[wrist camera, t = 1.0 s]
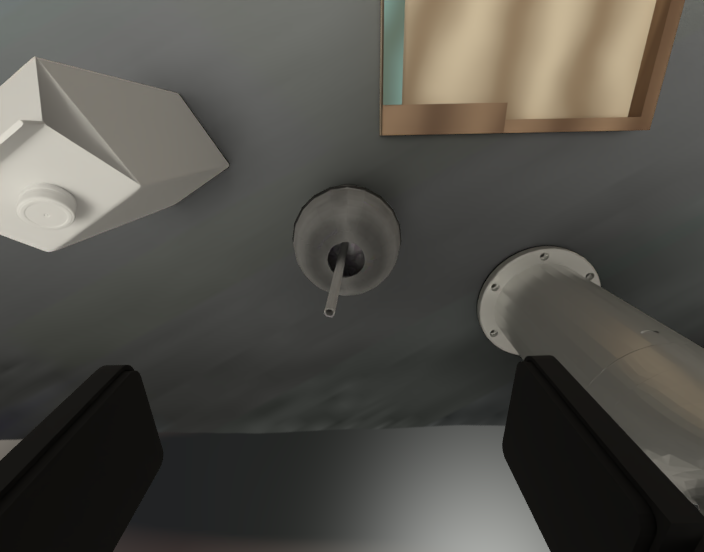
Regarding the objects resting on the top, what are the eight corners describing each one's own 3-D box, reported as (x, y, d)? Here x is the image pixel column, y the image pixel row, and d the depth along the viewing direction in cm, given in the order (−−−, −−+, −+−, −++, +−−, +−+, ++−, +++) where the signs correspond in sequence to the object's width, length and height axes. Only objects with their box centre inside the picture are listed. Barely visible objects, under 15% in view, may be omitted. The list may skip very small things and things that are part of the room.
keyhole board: (668, -54, 27) (708, -77, 24) (623, 130, 32) (651, 129, 29) (381, -48, 27) (385, -71, 24) (379, 135, 32) (382, 135, 29)
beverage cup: (400, 201, 34) (462, 278, 15) (355, 257, 36) (359, 387, 17) (340, 152, 32) (326, 174, 14) (296, 215, 34) (231, 308, 16)
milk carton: (120, 138, 32) (-171, 141, 14) (179, 92, 30) (-60, 30, 13) (173, 205, 34) (-18, 280, 16) (231, 165, 33) (90, 199, 15)
